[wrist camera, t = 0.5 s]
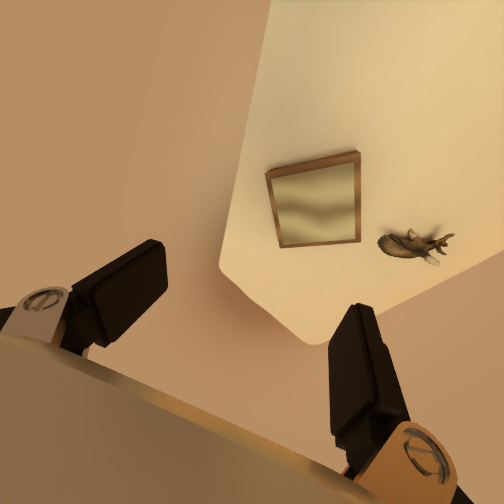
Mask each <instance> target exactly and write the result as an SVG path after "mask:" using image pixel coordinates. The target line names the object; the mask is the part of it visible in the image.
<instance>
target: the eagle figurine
mask: <svg viewBox="0 0 504 504" xmlns="http://www.w3.org/2000/svg"><path fill="white" fill-rule="evenodd" d="M454 235H455V234H448V235H446V236H444V237H443V238H441V239H438V240H430V241H429V242H427V243H423V241H422V240H421V239H420V238H419V237H418V236H417V235H416V234H415V233H414V232H413V231H412V229H410V231H409V236H410V238H411V241H408V240H405V239H403V238H399V237H397V236H395V235H393V234H390V235H388V236H385V235H384V236H383V237H381V238H380V239H379V240H378V242H377V244H379V245H378V246H379V247H380V248H381V250H383V252H384V253H386V254H387V255H390V256H394V257H399V258H415V257H422V258H424V260H425V261H426V262H427V263H429V264H432V265H434V266H440V262H439V261H438V260H437V259H435V258H434V257H432V256H431V255H430V254H429V253H428V251H430V250H432V249H435V248H436V250H437V252H438V253H441V254H443V255H447V254H446V253H444V252H442V250H441V247H440V246H443V247H447V246H448V244H447V243H446V242H445V241H446V240H447V239H448V238H450V237H452V236H454Z"/></svg>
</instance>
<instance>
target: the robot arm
mask: <svg viewBox="0 0 504 504" xmlns="http://www.w3.org/2000/svg"><path fill="white" fill-rule="evenodd" d="M71 287H72V289H73V290H72V291H71V292H68V291H67V289H65V288H62V287H48V288H43V289H40V290H37V291H34V292H32V293H30V294H28V295H27V296H26V297H24V298H23V299H22V300H21V301H20V302H19V303H18V304H17V306H15V307H8V308H3V309H0V504H474V503H473V502H472V501H471V500H470V499H469V498H468V496H467V495H466V494H465V493H464V492H463V491H462V490H461V488H460V487H459V486H458V485H457V474H456V469H455V466H454V464H453V462H452V460H451V458H450V456H449V454H448V453H447V451H446V450H445V448H444V447H443V445H442V444H441V443H440V442H439V441H438V440H437V439H436V437H435V436H434V435H432V434H431V433H430V432H429V431H428V430H426V429H425V428H424V427H422V426H420V425H419V424H417V423H414V422H411V420H410V417H409V414H408V411H407V407H406V404H405V401H404V398H403V395H402V392H401V388H400V385H399V382H398V379H397V375H396V372H395V369H394V366H393V362H392V359H391V356H390V353H389V350H388V347H387V346H386V345H385V344H384V343H383V341H382V338H381V334H380V331H379V328H378V324H377V321H376V317H375V314H374V311H373V308H372V307H370V306H367V305H364V304H361V303H356V304H355V305H353V304H352V305H351V306H350V307H349V309H348V311H347V312H346V314H345V316H344V317H343V319H342V321H341V323H340V324H339V326H338V328H337V329H336V331H335V333H334V335H333V336H332V338H331V340H330V342H329V346H328V359H329V360H328V361H329V392H330V393H329V394H330V428H331V433H332V435H334V436H335V442H336V443H335V444H336V447H338V448H340V449H343V450H345V451H346V456H347V462H348V466H347V467H346V468H345V469H344V471H343V472H342V473H341V474H339V473H337V472H335V471H334V470H332V469H330V468H328V467H326V466H324V465H322V464H320V463H317V462H315V461H313V460H311V459H309V458H307V457H305V456H303V455H300V454H298V453H296V452H294V451H292V450H290V449H288V448H286V447H284V446H281V445H279V444H277V443H275V442H272V441H270V440H268V439H266V438H264V437H262V436H259V435H257V434H255V433H253V432H251V431H248V430H246V429H244V428H242V427H239V426H237V425H235V424H233V423H231V422H228V421H226V420H224V419H222V418H219V417H217V416H215V415H213V414H210V413H208V412H206V411H204V410H202V409H199V408H197V407H195V406H193V405H190V404H188V403H186V402H183V401H181V400H179V399H177V398H175V397H172V396H170V395H168V394H166V393H163V392H161V391H159V390H157V389H154V388H152V387H150V386H148V385H145V384H143V383H141V382H138V381H136V380H134V379H132V378H129V377H127V376H125V375H123V374H120V373H118V372H116V371H114V370H111V369H109V368H107V367H104V366H102V365H100V364H98V363H95V362H93V361H91V360H88V359H87V356H88V352H89V347H90V345H91V344H93V342H95V344H97V345H99V346H101V347H104V348H106V347H107V346H108V345H109V344H110V343H111V342H115V341H116V340H117V339H118V338H119V337H120V336H121V335H122V334H123V333H124V332H125V331H126V330H127V329H128V328H129V327H130V326H131V325H132V324H133V323H134V322H135V321H136V320H137V319H138V318H139V317H140V316H141V315H142V314H143V313H144V312H145V311H146V310H147V309H148V308H149V307H150V306H151V305H152V304H153V303H154V302H155V301H156V300H157V299H158V298H159V297H160V296H161V295H162V294H163V293H164V292H165V291H166V290H167V288H168V278H167V266H166V253H165V247H164V246H163V244H162V242H159V241H156V240H153V239H149V240H147V241H145V242H143V243H142V244H140V245H138V246H137V247H135V248H133V249H132V250H130V251H128V252H127V253H125V254H124V255H122V256H120V257H118V258H117V259H115V260H114V261H112V262H110V263H108V264H107V265H105V266H104V267H102V268H100V269H99V270H97V271H95V272H94V273H92V274H90V275H89V276H87V277H85V278H84V279H82V280H80V281H79V282H77V283H75V284H74V285H72V286H71Z"/></svg>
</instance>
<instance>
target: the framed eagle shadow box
mask: <svg viewBox="0 0 504 504" xmlns="http://www.w3.org/2000/svg"><path fill="white" fill-rule="evenodd" d="M265 176H266V181H267V186H268V191H269V196H270V201H271V206H272V211H273V216H274V221H275V226H276V231H277V236H278V241H279V246H280V248H292V247H305V246H319V245H332V244H345V243H358V242H361V153H360V152H358V151H357V150H356V151H352V152H347V153H343V154H338V155H334V156H329V157H325V158H320V159H316V160H311V161H307V162H302V163H298V164H293V165H289V166H284V167H280V168H275V169H271V170H269V171H268V172H267V173H265Z"/></svg>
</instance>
